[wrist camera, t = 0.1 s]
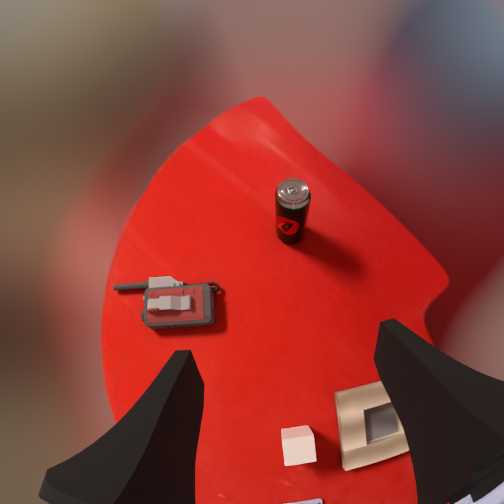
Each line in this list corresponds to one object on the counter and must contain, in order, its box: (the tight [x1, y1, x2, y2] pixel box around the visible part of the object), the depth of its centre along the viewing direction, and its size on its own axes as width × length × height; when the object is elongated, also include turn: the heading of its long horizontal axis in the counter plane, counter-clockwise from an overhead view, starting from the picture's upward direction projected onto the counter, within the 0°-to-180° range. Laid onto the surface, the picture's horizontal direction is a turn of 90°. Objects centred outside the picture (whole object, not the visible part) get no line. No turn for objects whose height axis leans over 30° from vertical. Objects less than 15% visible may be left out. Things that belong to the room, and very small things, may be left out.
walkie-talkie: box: [113, 276, 219, 329], centre depth 43 cm, size 9×4×20 cm
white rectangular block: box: [281, 425, 316, 466], centre depth 30 cm, size 4×4×7 cm
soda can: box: [275, 178, 311, 244], centre depth 42 cm, size 5×5×12 cm
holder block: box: [334, 381, 409, 471], centre depth 32 cm, size 13×13×2 cm
